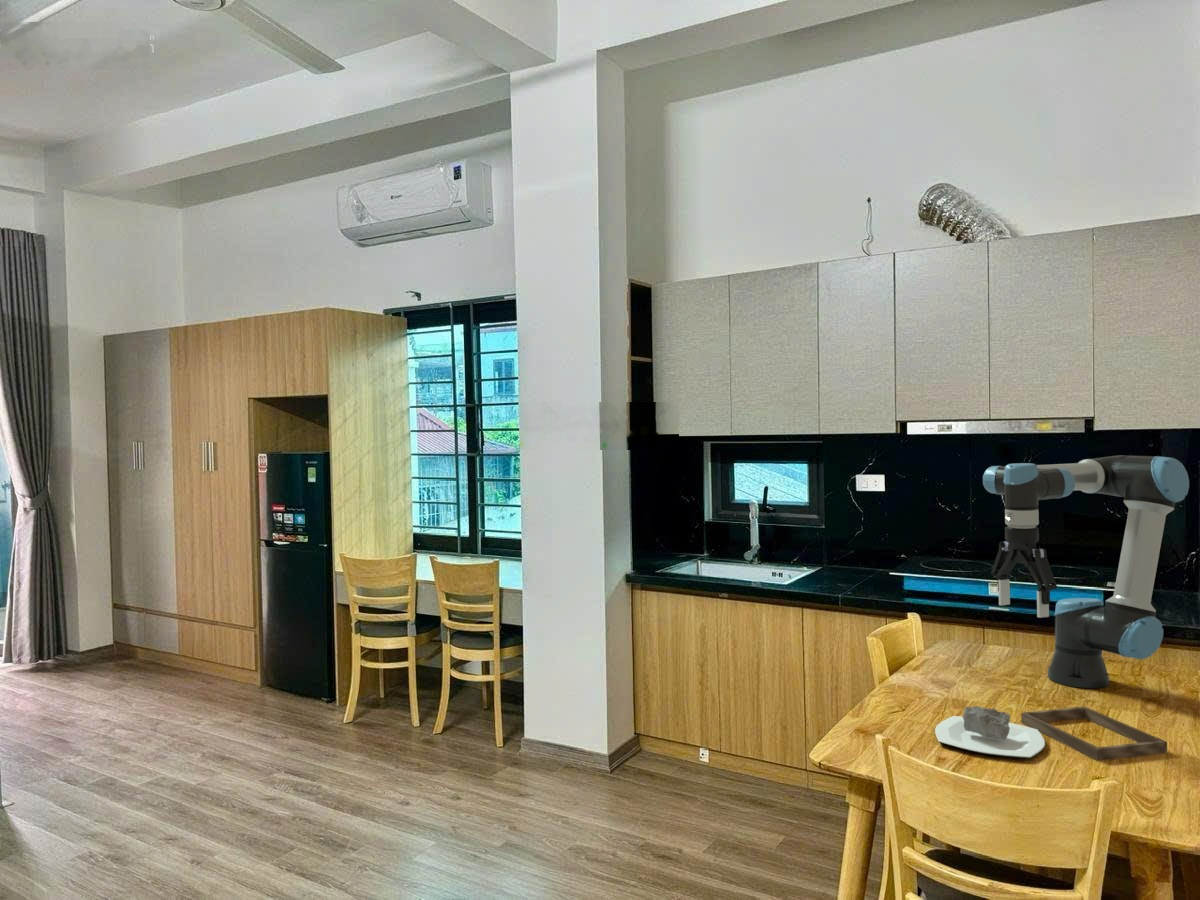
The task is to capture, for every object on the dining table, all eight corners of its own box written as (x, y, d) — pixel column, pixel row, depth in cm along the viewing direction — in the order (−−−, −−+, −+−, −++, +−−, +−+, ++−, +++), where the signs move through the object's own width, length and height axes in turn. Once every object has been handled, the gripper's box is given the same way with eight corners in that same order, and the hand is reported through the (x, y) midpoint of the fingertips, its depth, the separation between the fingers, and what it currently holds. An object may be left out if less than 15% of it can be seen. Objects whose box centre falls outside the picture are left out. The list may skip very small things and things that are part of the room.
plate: (1040, 771, 184) (1041, 762, 184) (926, 750, 196) (926, 742, 196) (1048, 736, 203) (1048, 728, 203) (944, 719, 215) (944, 711, 215)
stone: (1009, 743, 194) (1009, 717, 194) (962, 737, 198) (961, 712, 198) (1010, 731, 201) (1010, 706, 201) (964, 726, 206) (964, 701, 205)
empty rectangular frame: (1084, 716, 214) (1084, 706, 214) (1166, 753, 191) (1167, 741, 191) (1021, 722, 211) (1021, 712, 210) (1097, 760, 187) (1097, 749, 187)
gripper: (975, 520, 225) (977, 601, 226) (1045, 533, 200) (1047, 624, 202) (1000, 518, 226) (1002, 598, 228) (1072, 531, 202) (1074, 620, 203)
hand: (1023, 610), depth 215 cm, fingers open, 13 cm apart
